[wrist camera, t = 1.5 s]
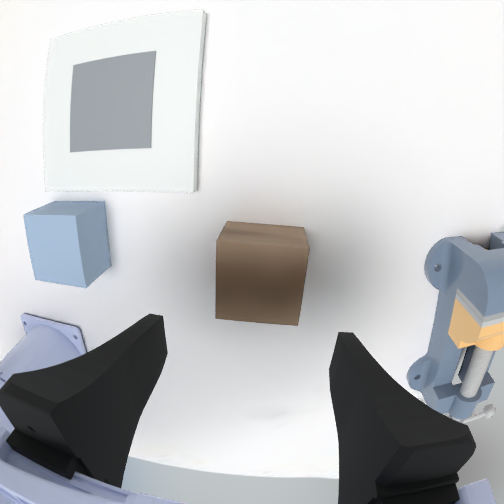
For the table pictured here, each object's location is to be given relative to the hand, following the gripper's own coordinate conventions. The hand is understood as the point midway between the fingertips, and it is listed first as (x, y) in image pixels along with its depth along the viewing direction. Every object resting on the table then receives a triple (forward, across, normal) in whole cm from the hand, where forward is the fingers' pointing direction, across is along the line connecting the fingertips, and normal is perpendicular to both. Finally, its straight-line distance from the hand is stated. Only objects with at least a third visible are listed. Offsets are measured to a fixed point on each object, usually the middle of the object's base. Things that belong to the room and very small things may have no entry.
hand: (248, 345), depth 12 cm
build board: (+10, +10, -10) cm, 17 cm away
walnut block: (+10, 0, 0) cm, 10 cm away
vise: (+10, -18, +6) cm, 21 cm away
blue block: (+10, +14, -1) cm, 17 cm away
